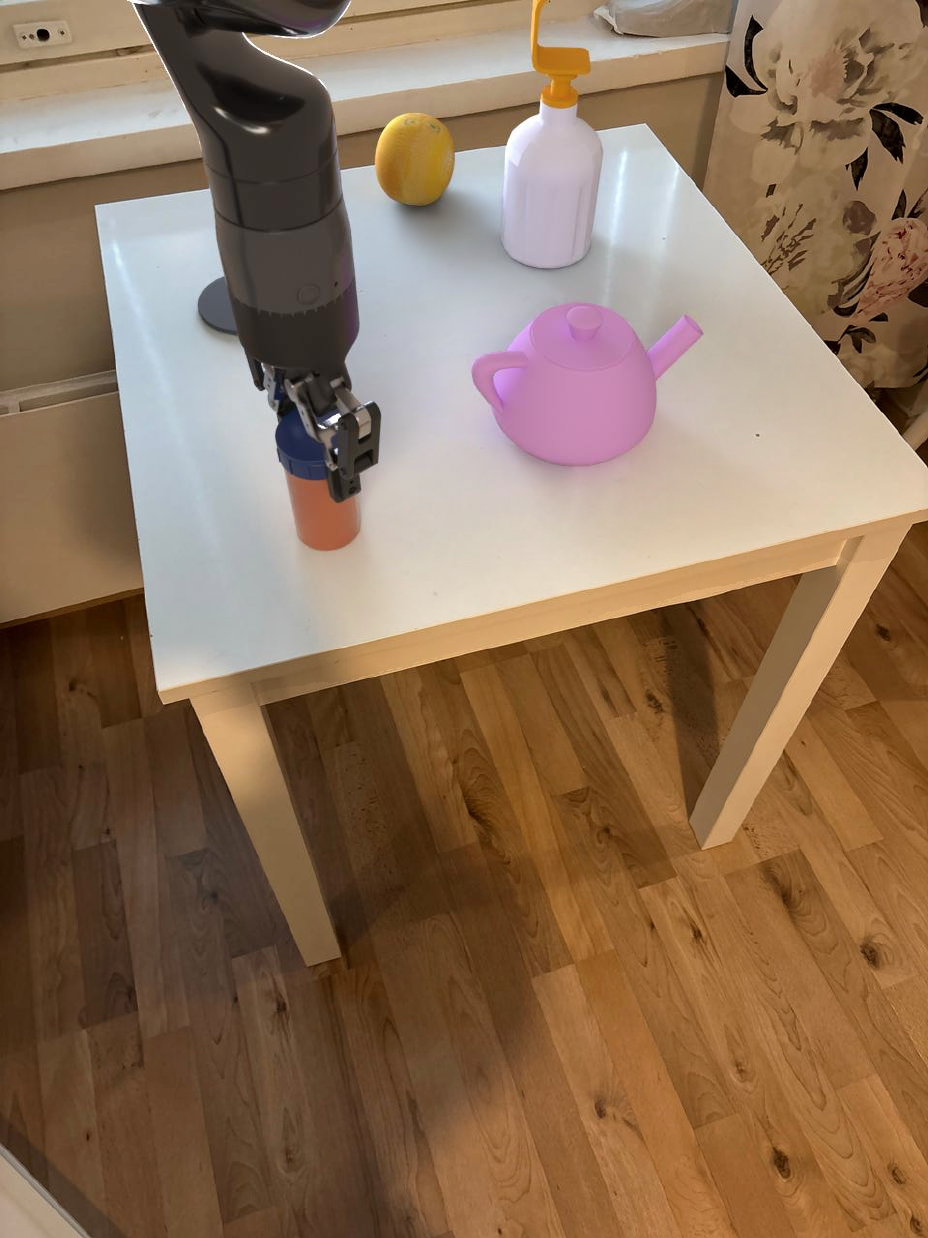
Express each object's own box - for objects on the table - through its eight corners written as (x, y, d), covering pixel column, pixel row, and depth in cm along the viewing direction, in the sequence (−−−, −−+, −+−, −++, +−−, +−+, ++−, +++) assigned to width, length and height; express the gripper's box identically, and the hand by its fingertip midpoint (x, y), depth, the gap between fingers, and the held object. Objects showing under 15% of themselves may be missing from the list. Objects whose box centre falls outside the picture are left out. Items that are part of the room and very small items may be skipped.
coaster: (198, 339, 87) (196, 334, 86) (199, 279, 92) (198, 274, 92) (296, 330, 88) (296, 326, 87) (292, 271, 93) (292, 267, 92)
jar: (299, 555, 73) (282, 467, 65) (292, 507, 75) (275, 416, 68) (364, 545, 73) (354, 457, 65) (355, 497, 76) (345, 407, 68)
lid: (355, 420, 69) (353, 400, 68) (361, 476, 66) (359, 457, 65) (277, 427, 69) (273, 407, 67) (280, 484, 66) (276, 465, 64)
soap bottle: (593, 271, 94) (633, -6, 73) (501, 269, 94) (515, -9, 73) (587, 219, 99) (624, -54, 79) (500, 217, 99) (514, -56, 79)
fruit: (453, 221, 98) (453, 145, 92) (375, 219, 98) (370, 143, 92) (455, 174, 103) (455, 99, 97) (381, 172, 103) (376, 97, 97)
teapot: (720, 445, 80) (753, 342, 71) (498, 500, 76) (504, 399, 67) (649, 343, 87) (672, 239, 79) (443, 389, 83) (443, 285, 75)
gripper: (415, 304, 53) (422, 505, 67) (278, 188, 60) (311, 394, 73) (301, 358, 51) (333, 556, 64) (171, 231, 57) (226, 436, 71)
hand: (321, 469), depth 69 cm, fingers closed on lid, 5 cm apart
